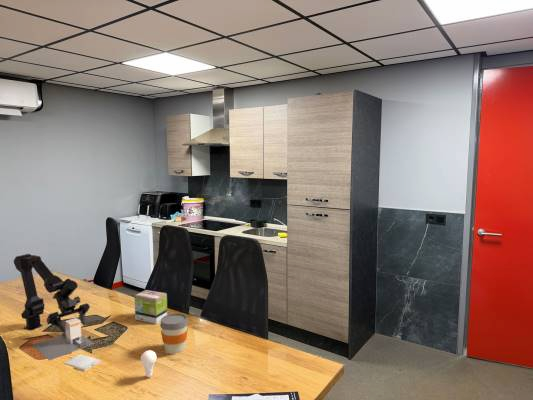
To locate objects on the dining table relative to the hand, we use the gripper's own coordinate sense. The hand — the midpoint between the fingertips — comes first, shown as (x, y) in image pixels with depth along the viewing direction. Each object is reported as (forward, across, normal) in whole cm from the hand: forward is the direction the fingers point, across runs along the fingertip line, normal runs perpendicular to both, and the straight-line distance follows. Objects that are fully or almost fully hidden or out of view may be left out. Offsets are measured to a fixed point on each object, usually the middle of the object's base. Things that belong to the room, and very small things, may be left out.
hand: (74, 328), depth 179 cm
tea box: (+8, +40, +2) cm, 40 cm away
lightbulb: (+43, +6, -33) cm, 55 cm away
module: (+4, 0, +6) cm, 7 cm away
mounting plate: (+4, -5, +6) cm, 9 cm away
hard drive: (+21, -6, -10) cm, 24 cm away
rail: (+4, 0, +6) cm, 7 cm away
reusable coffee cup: (+36, +27, -25) cm, 51 cm away
